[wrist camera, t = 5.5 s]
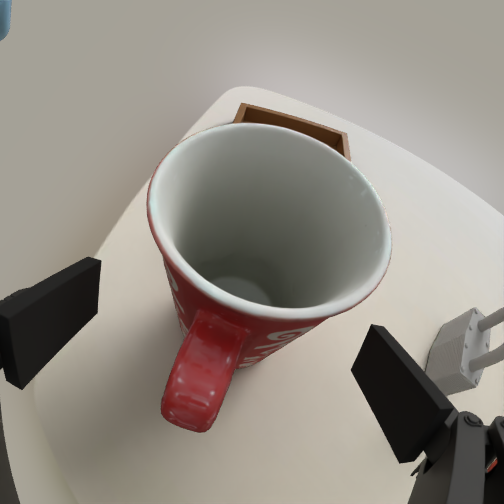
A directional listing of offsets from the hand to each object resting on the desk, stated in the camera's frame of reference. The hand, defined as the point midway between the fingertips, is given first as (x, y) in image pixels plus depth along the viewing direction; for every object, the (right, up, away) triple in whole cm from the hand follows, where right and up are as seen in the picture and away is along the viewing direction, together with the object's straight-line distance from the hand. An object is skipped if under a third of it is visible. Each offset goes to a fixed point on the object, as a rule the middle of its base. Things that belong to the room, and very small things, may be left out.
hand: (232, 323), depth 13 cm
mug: (-1, -3, +8) cm, 8 cm away
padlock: (+19, -7, +10) cm, 23 cm away
